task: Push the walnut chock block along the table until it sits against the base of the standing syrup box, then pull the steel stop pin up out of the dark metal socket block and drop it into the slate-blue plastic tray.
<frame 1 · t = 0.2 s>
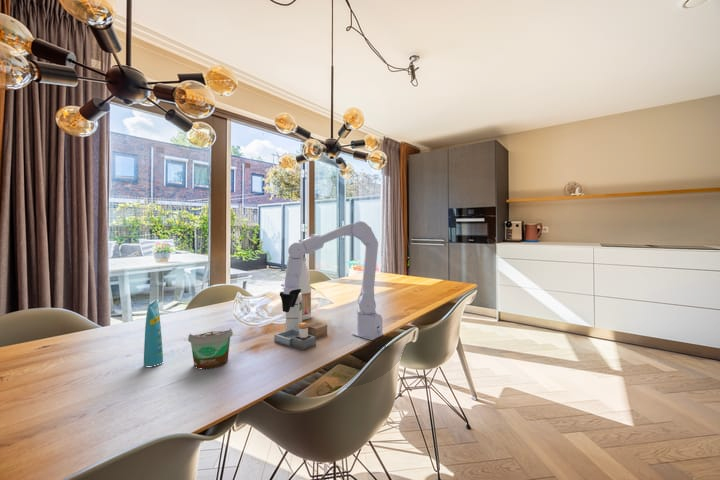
hand: (288, 309, 114), 11 cm above the table, tool pointing down, fingers open, 7 cm apart
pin: (303, 334, 105), in the socket
fruit juice: (300, 318, 139), on the table
tube: (154, 364, 90), on the table
socket: (303, 345, 105), on the table
syrup box: (294, 328, 124), on the table
food container: (211, 366, 89), on the table
tray: (290, 340, 110), on the table
chock: (315, 335, 116), on the table
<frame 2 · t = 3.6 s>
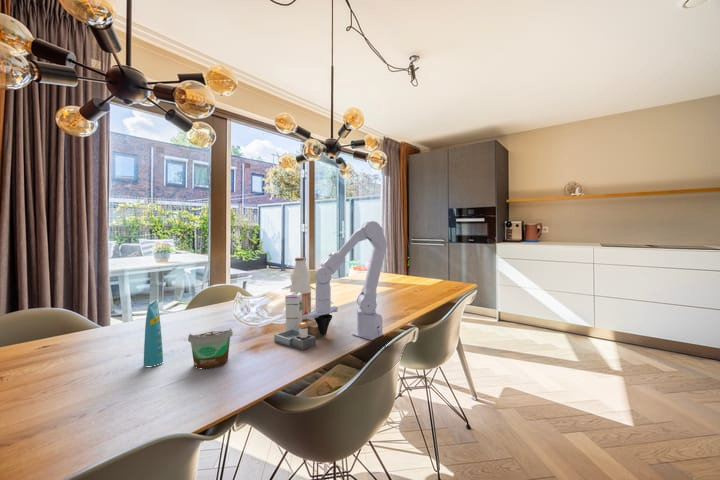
hand: (323, 334, 114), 1 cm above the table, tool pointing down, fingers closed
chock: (313, 334, 117), on the table, touching gripper
everything else where it was.
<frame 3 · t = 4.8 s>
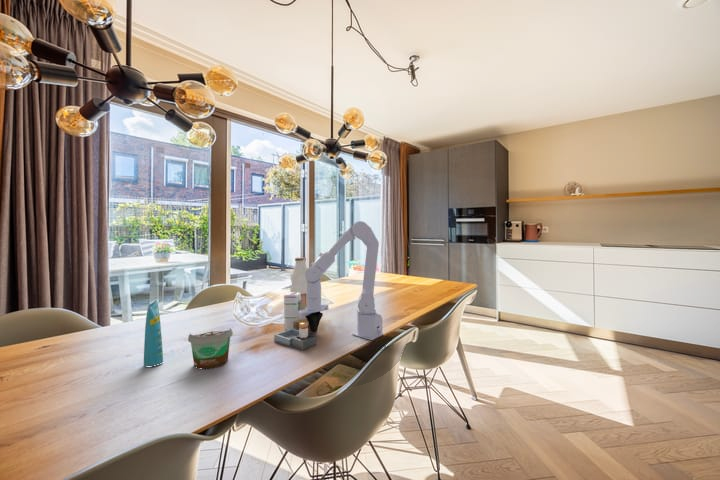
hand: (313, 331, 117), 1 cm above the table, tool pointing down, fingers closed, pressing on chock
chock: (304, 331, 120), on the table, touching gripper
everything else where it was.
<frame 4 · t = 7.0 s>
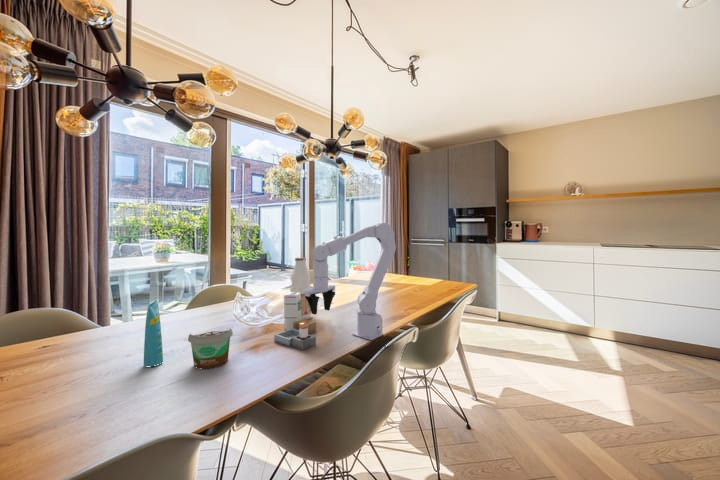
hand: (320, 311, 114), 9 cm above the table, tool pointing down, fingers open, 6 cm apart
chock: (304, 331, 120), on the table
everything else where it was.
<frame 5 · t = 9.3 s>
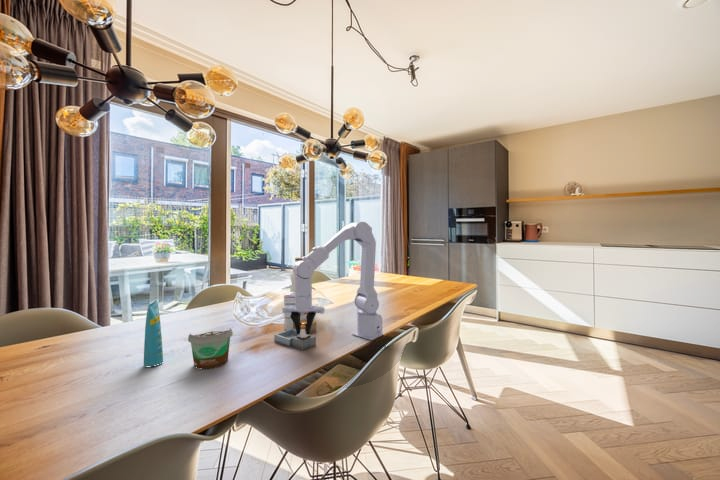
hand: (303, 333, 105), 4 cm above the table, tool pointing down, fingers closed on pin, 3 cm apart
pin: (303, 334, 105), in the socket, touching gripper
everything else where it was.
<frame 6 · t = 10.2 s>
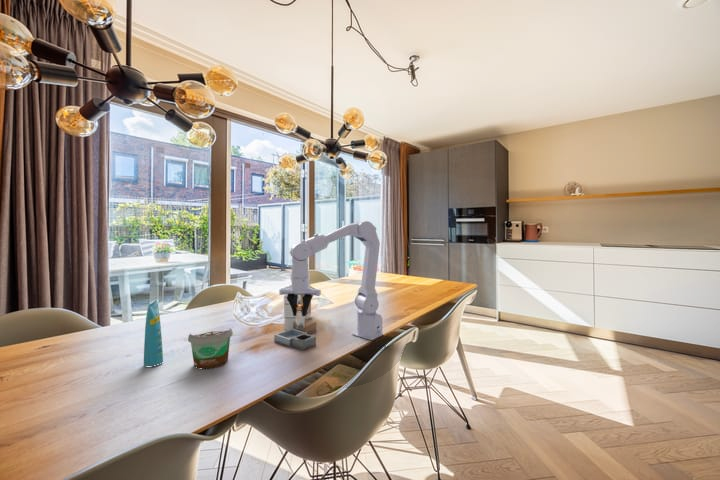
hand: (300, 315, 106), 10 cm above the table, tool pointing down, fingers closed on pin, 3 cm apart
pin: (300, 316, 106), point 10 cm above the table, touching gripper
everything else where it was.
when the fingers open (6 cm above the table, at t = 11.6 s): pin drops 1 cm, resting on tray.
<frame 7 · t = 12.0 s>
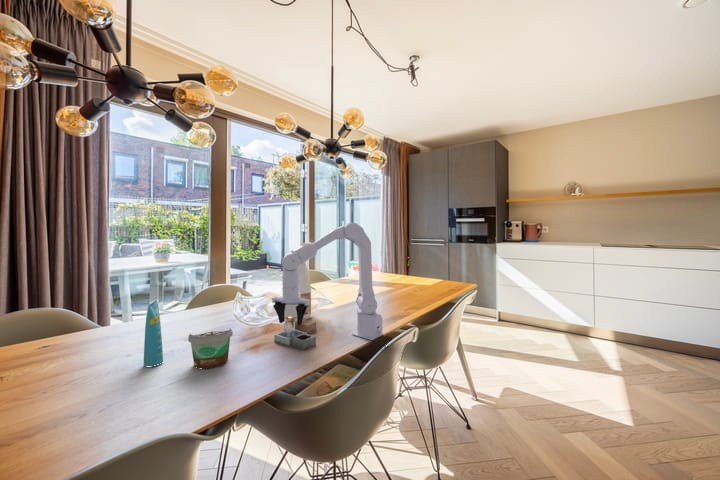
hand: (290, 323, 110), 6 cm above the table, tool pointing down, fingers open, 7 cm apart
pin: (290, 328, 110), in the tray, point 5 cm above the table
everything else where it was.
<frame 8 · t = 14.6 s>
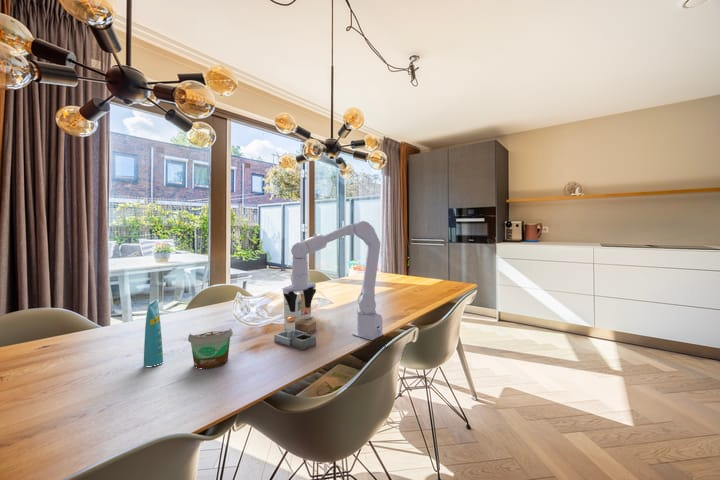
hand: (300, 309, 114), 10 cm above the table, tool pointing down, fingers open, 7 cm apart
nothing on the table moved.
at the end: chock 7.3 cm from the syrup box (horizontally); chock moved 6.1 cm from its start; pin 0.1 cm off-centre on the tray, point 4.6 cm above the tray's base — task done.
